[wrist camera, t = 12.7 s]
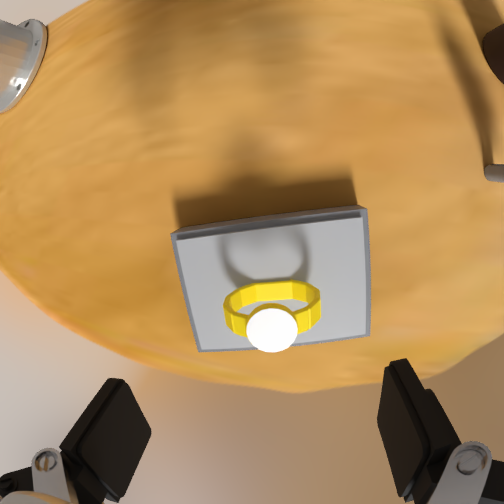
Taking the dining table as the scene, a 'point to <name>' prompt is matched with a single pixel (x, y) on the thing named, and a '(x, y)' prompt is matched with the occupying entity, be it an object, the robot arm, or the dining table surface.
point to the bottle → (495, 51)
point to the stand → (278, 271)
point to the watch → (272, 313)
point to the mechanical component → (494, 172)
